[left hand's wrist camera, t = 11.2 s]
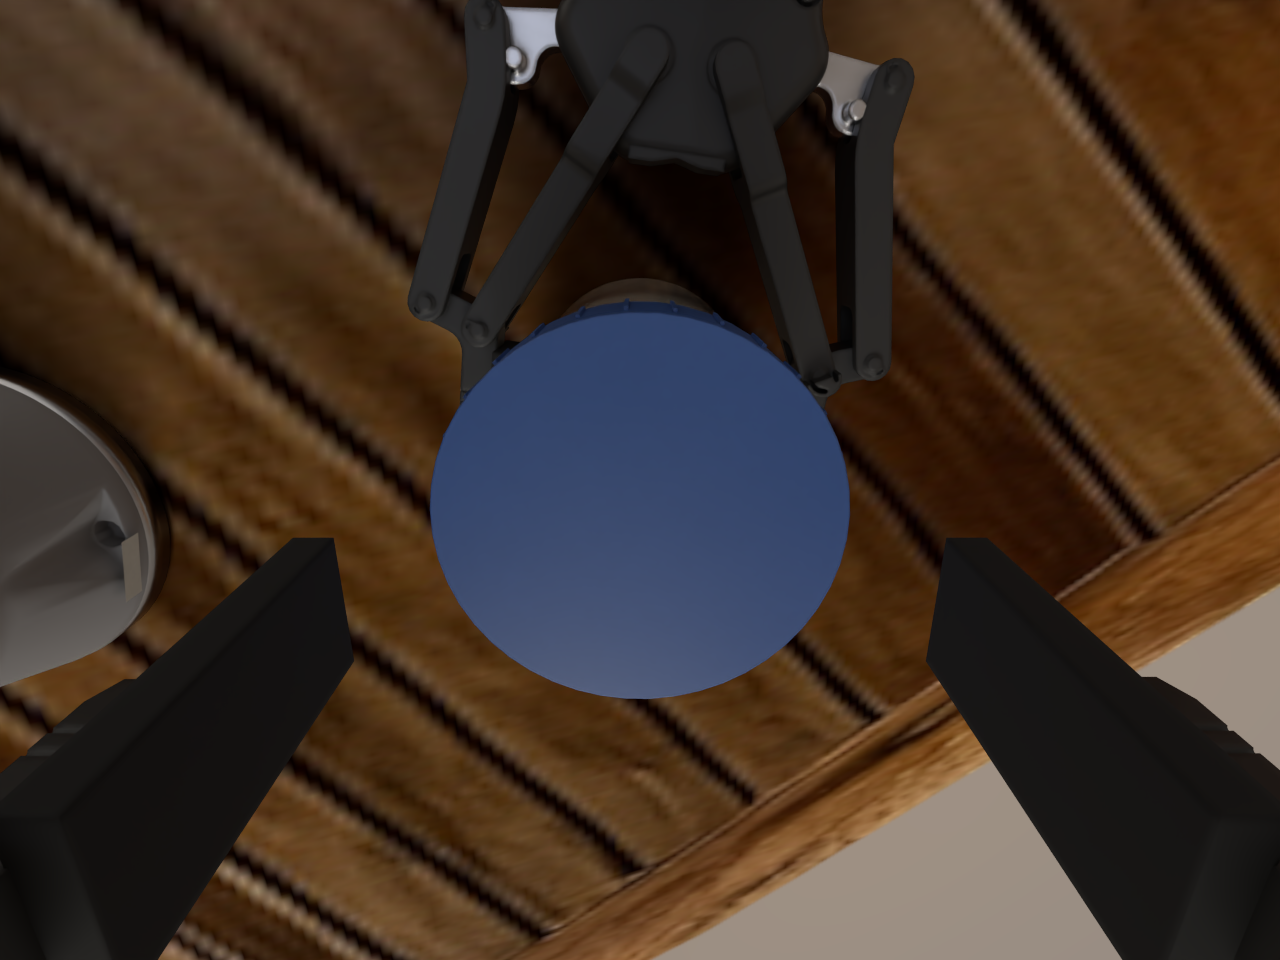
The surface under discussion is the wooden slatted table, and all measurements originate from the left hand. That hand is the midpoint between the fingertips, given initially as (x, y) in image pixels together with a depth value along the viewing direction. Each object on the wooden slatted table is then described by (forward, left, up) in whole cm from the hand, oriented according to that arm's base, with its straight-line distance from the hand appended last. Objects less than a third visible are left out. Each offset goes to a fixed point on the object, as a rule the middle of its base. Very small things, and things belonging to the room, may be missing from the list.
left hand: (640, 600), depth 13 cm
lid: (0, 0, -4) cm, 4 cm away
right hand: (+3, -4, -13) cm, 14 cm away
